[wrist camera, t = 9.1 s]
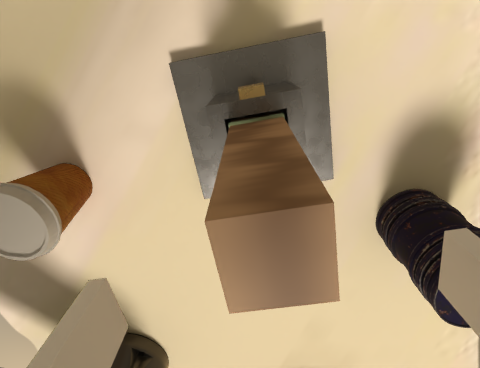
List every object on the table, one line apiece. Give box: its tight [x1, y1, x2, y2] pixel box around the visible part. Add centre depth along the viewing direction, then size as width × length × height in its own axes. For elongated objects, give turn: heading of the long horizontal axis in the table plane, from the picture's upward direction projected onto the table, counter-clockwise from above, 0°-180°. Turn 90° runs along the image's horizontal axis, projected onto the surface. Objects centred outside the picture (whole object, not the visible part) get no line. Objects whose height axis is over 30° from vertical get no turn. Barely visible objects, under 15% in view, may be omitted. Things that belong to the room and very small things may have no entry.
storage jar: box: [376, 189, 480, 328], centre depth 36 cm, size 10×10×15 cm
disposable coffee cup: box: [0, 163, 92, 261], centre depth 36 cm, size 10×10×12 cm
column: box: [205, 111, 340, 314], centre depth 21 cm, size 5×5×20 cm
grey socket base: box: [169, 31, 334, 199], centre depth 33 cm, size 18×18×10 cm
